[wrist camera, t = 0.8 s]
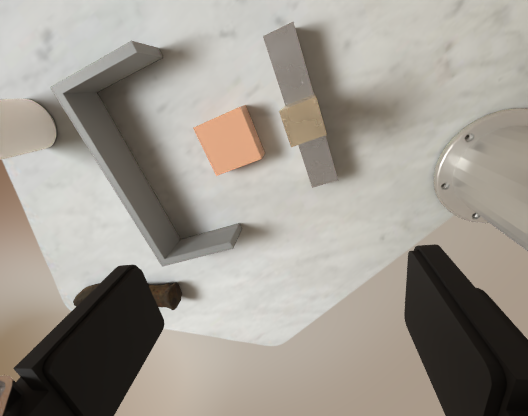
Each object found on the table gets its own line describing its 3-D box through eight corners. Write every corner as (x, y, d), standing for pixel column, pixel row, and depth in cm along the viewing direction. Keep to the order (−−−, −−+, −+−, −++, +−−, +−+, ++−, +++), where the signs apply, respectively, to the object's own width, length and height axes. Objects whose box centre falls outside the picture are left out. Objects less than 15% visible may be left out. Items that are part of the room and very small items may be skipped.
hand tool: (180, 278, 43) (166, 298, 39) (184, 296, 45) (172, 317, 41) (82, 274, 47) (60, 292, 42) (89, 291, 48) (69, 310, 44)
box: (158, 47, 29) (131, 40, 24) (241, 229, 37) (233, 248, 33) (86, 87, 32) (49, 87, 27) (178, 246, 40) (162, 266, 36)
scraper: (294, 28, 26) (288, -2, 17) (335, 172, 32) (346, 205, 23) (267, 41, 27) (248, 19, 18) (311, 179, 33) (313, 214, 24)
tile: (246, 104, 30) (240, 106, 28) (265, 152, 32) (261, 158, 30) (202, 124, 32) (193, 127, 29) (223, 168, 34) (216, 175, 31)
